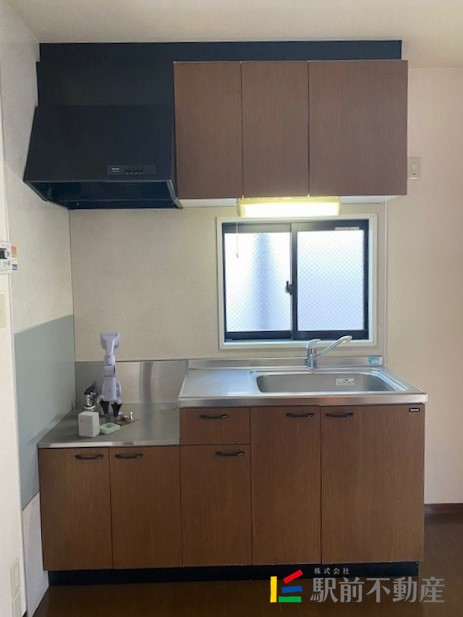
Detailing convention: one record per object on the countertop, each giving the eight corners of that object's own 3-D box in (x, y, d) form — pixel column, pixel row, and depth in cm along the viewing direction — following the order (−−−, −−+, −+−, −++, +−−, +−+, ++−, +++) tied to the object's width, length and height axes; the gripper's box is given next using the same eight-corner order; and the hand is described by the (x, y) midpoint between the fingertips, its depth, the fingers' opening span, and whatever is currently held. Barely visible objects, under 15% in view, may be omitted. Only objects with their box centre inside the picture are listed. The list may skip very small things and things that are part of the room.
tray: (95, 431, 248) (95, 426, 248) (109, 426, 255) (109, 422, 254) (106, 434, 243) (106, 430, 243) (119, 429, 250) (119, 425, 249)
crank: (118, 418, 263) (118, 410, 263) (123, 416, 266) (123, 409, 266) (129, 421, 258) (129, 413, 258) (135, 419, 261) (135, 412, 260)
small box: (100, 433, 245) (99, 412, 244) (93, 437, 239) (92, 415, 238) (85, 432, 247) (84, 410, 246) (78, 435, 242) (77, 414, 241)
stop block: (105, 425, 257) (105, 413, 257) (111, 423, 260) (111, 411, 260) (110, 426, 255) (110, 415, 254) (117, 424, 258) (116, 413, 257)
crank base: (108, 421, 263) (108, 419, 263) (124, 416, 271) (124, 413, 271) (122, 425, 256) (122, 423, 256) (138, 419, 265) (138, 417, 265)
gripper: (94, 388, 257) (95, 415, 258) (113, 393, 248) (114, 420, 249) (105, 385, 262) (106, 411, 264) (124, 389, 254) (125, 416, 255)
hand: (111, 415), depth 257 cm, fingers open, 7 cm apart
